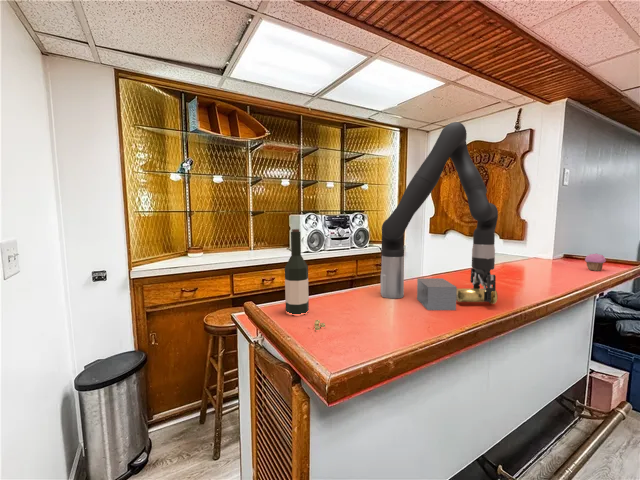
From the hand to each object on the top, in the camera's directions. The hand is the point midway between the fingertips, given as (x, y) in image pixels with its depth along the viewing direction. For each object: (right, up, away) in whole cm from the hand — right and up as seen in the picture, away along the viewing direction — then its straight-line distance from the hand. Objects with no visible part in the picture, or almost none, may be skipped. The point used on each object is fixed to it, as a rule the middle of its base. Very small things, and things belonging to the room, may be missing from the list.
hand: (481, 298), depth 113 cm
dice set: (-62, -6, -21) cm, 66 cm away
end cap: (-2, -2, 0) cm, 3 cm away
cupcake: (+99, +4, +61) cm, 116 cm away
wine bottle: (-70, -4, -6) cm, 70 cm away
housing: (-17, -3, +1) cm, 17 cm away
